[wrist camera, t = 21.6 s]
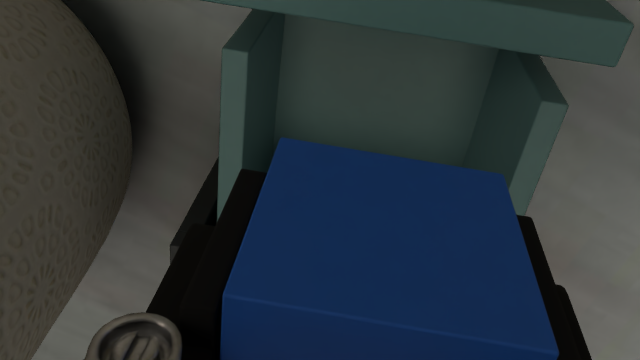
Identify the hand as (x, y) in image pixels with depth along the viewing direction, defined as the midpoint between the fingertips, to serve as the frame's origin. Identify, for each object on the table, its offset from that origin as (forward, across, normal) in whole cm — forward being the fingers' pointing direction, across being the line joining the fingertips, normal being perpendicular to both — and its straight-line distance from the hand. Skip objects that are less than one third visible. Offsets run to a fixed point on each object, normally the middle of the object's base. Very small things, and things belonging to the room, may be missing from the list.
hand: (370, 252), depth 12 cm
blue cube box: (0, 0, 0) cm, 0 cm away
